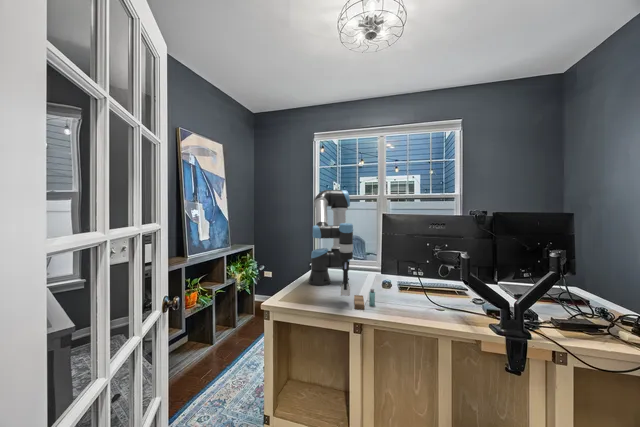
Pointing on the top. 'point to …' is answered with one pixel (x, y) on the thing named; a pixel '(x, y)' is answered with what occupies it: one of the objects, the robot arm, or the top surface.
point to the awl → (372, 297)
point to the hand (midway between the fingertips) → (345, 293)
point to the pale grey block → (342, 289)
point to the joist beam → (359, 302)
